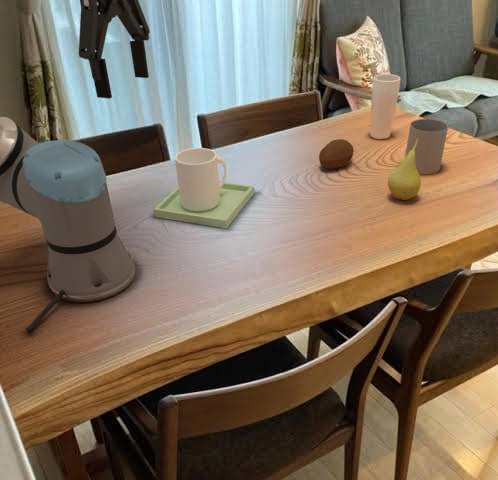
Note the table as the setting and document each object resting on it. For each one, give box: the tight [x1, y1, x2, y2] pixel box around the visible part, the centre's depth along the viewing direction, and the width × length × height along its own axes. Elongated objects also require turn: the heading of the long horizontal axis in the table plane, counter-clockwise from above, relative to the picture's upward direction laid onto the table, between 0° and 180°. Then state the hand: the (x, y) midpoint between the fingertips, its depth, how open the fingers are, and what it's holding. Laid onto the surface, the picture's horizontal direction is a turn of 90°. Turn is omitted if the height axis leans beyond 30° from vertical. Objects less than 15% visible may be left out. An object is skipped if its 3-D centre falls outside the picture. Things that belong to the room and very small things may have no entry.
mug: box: [174, 147, 227, 212], centre depth 115 cm, size 9×12×11 cm
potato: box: [318, 138, 355, 170], centre depth 130 cm, size 7×10×6 cm
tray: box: [152, 180, 255, 229], centre depth 117 cm, size 17×17×2 cm
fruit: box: [387, 138, 422, 201], centre depth 114 cm, size 7×8×12 cm
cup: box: [404, 118, 449, 175], centre depth 126 cm, size 8×8×10 cm
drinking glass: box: [369, 73, 401, 140], centre depth 140 cm, size 7×7×15 cm
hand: (124, 87), depth 103 cm, fingers open, 13 cm apart
